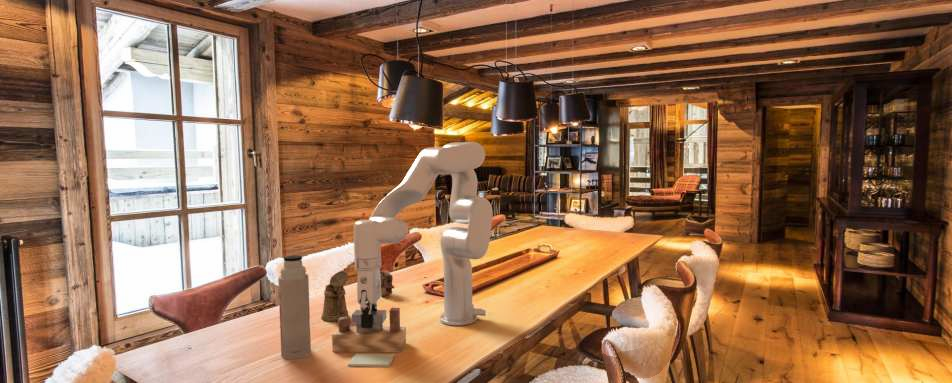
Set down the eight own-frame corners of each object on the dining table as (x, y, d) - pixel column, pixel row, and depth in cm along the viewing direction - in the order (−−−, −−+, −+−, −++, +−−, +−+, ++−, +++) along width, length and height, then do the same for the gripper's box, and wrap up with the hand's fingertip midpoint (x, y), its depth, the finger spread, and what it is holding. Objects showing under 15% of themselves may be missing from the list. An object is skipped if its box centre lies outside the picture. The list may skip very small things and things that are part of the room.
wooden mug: (328, 327, 166) (326, 273, 165) (318, 316, 178) (317, 265, 177) (355, 322, 171) (353, 269, 169) (344, 312, 182) (342, 262, 181)
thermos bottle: (277, 359, 140) (273, 259, 138) (285, 348, 148) (282, 253, 146) (307, 358, 141) (303, 258, 139) (313, 347, 149) (310, 253, 147)
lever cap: (386, 317, 150) (386, 307, 150) (382, 323, 146) (382, 312, 145) (356, 317, 151) (356, 307, 150) (351, 322, 146) (351, 312, 146)
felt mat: (394, 356, 142) (394, 354, 142) (388, 366, 135) (388, 364, 135) (355, 355, 142) (355, 353, 142) (347, 366, 135) (347, 364, 135)
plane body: (406, 343, 152) (405, 305, 151) (401, 352, 145) (400, 312, 144) (340, 342, 153) (339, 305, 152) (332, 351, 146) (331, 312, 145)
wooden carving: (367, 292, 209) (366, 268, 208) (377, 290, 212) (376, 266, 211) (388, 300, 196) (387, 275, 195) (398, 298, 199) (397, 273, 198)
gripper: (373, 269, 138) (375, 334, 140) (387, 257, 155) (388, 315, 156) (346, 269, 139) (348, 334, 140) (362, 257, 155) (364, 315, 157)
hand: (369, 323), depth 148 cm, fingers closed on lever cap, 4 cm apart
